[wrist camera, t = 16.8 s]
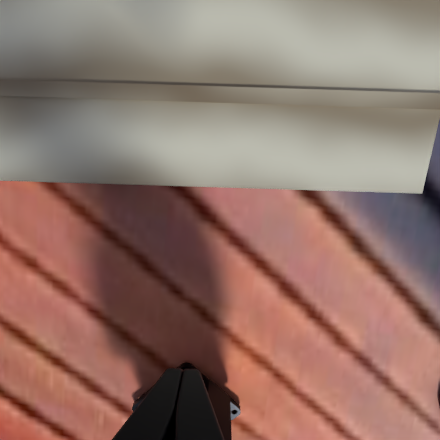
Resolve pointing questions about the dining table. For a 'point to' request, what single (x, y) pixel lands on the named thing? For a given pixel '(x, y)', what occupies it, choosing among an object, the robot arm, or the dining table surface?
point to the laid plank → (220, 93)
